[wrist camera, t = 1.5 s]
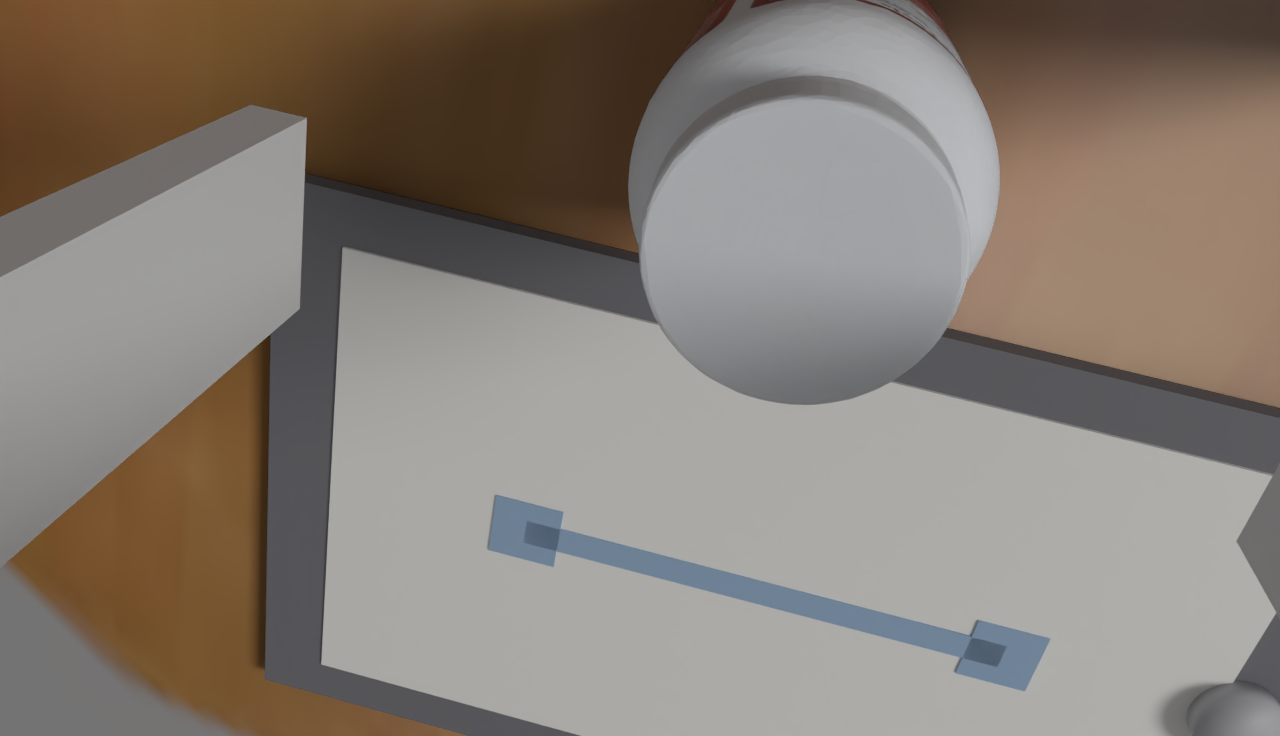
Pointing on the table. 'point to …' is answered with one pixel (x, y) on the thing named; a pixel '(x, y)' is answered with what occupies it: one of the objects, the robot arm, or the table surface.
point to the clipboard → (731, 516)
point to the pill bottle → (812, 194)
